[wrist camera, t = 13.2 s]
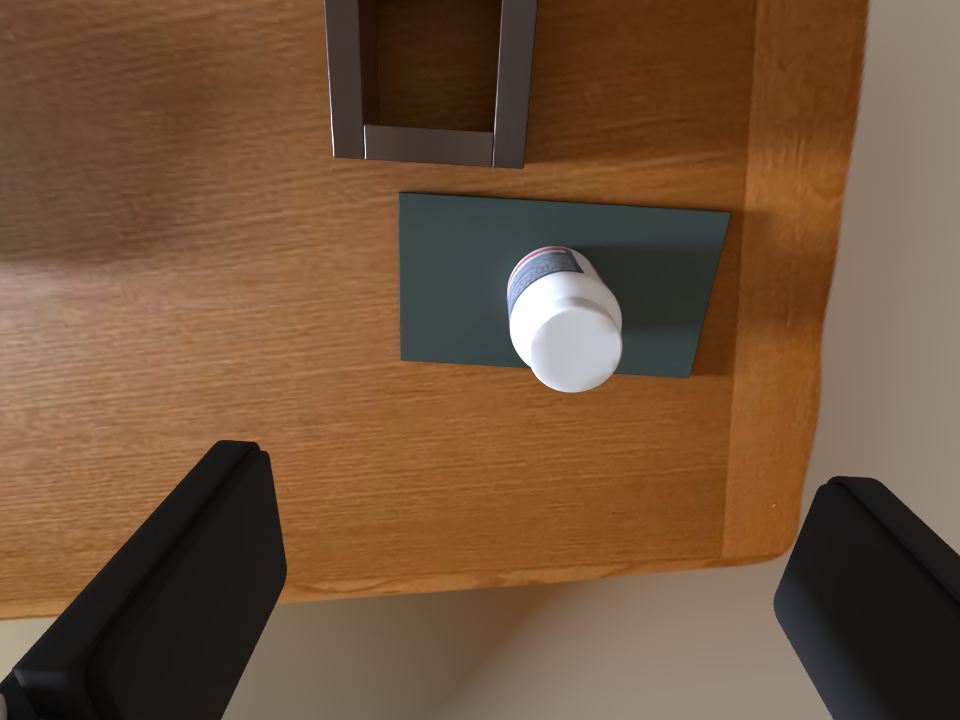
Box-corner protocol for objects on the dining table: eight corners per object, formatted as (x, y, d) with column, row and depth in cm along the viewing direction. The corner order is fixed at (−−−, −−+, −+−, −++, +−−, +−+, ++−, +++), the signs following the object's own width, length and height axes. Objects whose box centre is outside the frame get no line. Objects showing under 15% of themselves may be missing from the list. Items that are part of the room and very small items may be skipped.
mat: (728, 211, 28) (731, 212, 27) (687, 375, 32) (689, 378, 31) (399, 191, 28) (397, 192, 27) (401, 357, 32) (400, 360, 31)
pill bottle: (490, 305, 30) (487, 370, 22) (538, 227, 28) (554, 266, 20) (565, 347, 31) (590, 424, 23) (616, 275, 29) (663, 331, 21)
